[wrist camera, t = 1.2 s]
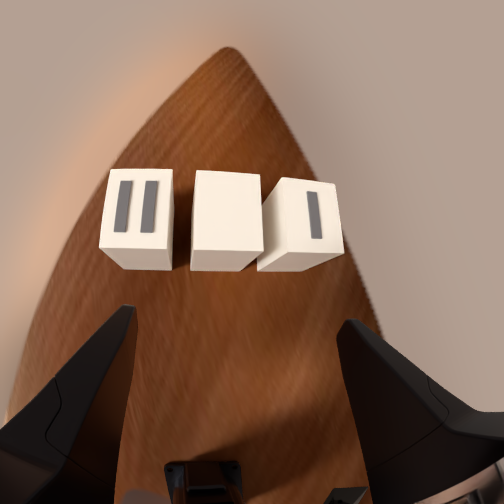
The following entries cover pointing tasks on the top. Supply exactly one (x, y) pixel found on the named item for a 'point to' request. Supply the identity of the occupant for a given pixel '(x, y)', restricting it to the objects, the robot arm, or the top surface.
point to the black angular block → (346, 495)
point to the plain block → (225, 221)
